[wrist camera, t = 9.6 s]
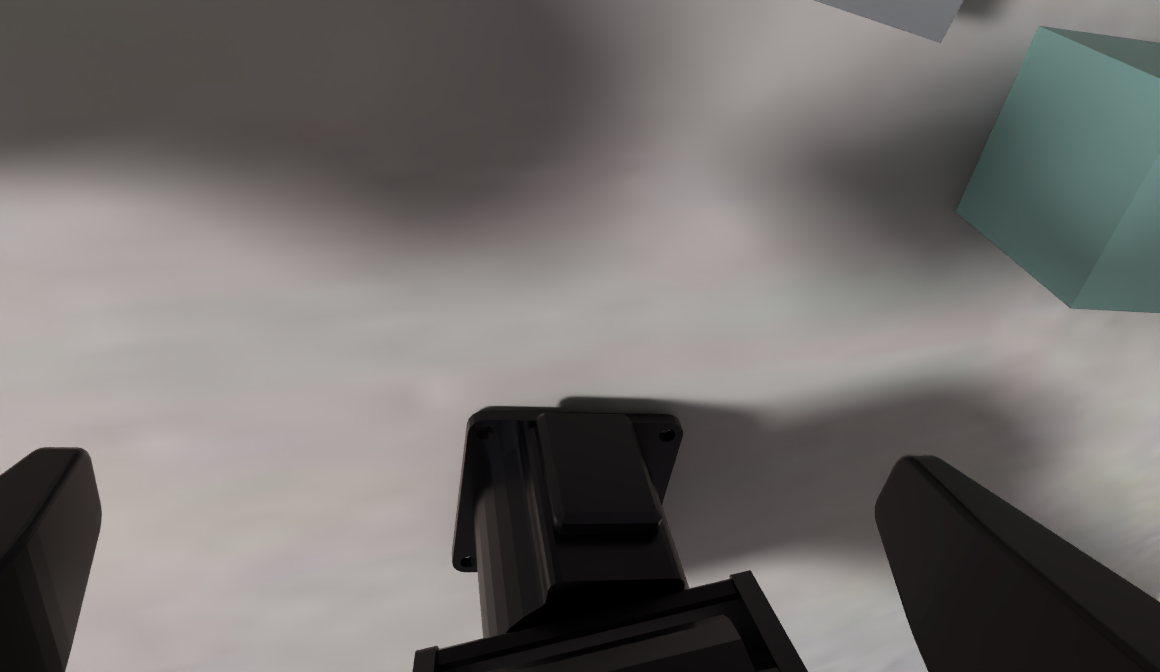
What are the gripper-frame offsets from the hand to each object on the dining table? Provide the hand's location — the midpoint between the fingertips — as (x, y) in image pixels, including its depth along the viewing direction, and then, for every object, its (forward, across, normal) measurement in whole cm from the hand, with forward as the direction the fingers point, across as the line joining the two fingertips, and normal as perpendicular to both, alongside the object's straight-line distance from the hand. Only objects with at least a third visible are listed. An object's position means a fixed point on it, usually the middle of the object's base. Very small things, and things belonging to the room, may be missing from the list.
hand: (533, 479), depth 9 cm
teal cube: (+12, -16, -1) cm, 20 cm away
